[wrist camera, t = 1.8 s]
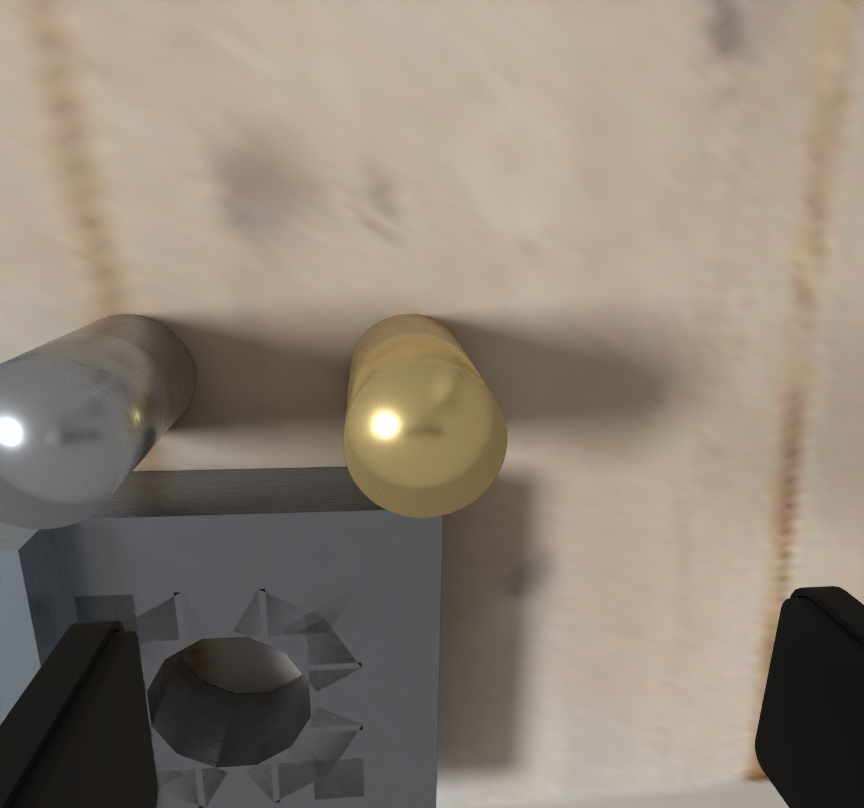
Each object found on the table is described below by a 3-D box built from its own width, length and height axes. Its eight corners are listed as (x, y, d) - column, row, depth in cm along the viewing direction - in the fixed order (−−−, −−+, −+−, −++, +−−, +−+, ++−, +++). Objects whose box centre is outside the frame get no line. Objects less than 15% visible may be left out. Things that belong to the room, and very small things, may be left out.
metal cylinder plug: (189, 314, 24) (109, 365, 17) (200, 430, 26) (131, 526, 18) (60, 314, 24) (-83, 367, 16) (78, 432, 25) (-46, 532, 18)
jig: (432, 465, 27) (449, 535, 21) (426, 767, 32) (440, 892, 26) (25, 474, 25) (-73, 553, 20) (84, 791, 30) (18, 929, 24)
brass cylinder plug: (467, 313, 25) (511, 362, 18) (464, 425, 27) (503, 515, 19) (348, 314, 25) (341, 364, 17) (351, 427, 26) (345, 520, 19)
